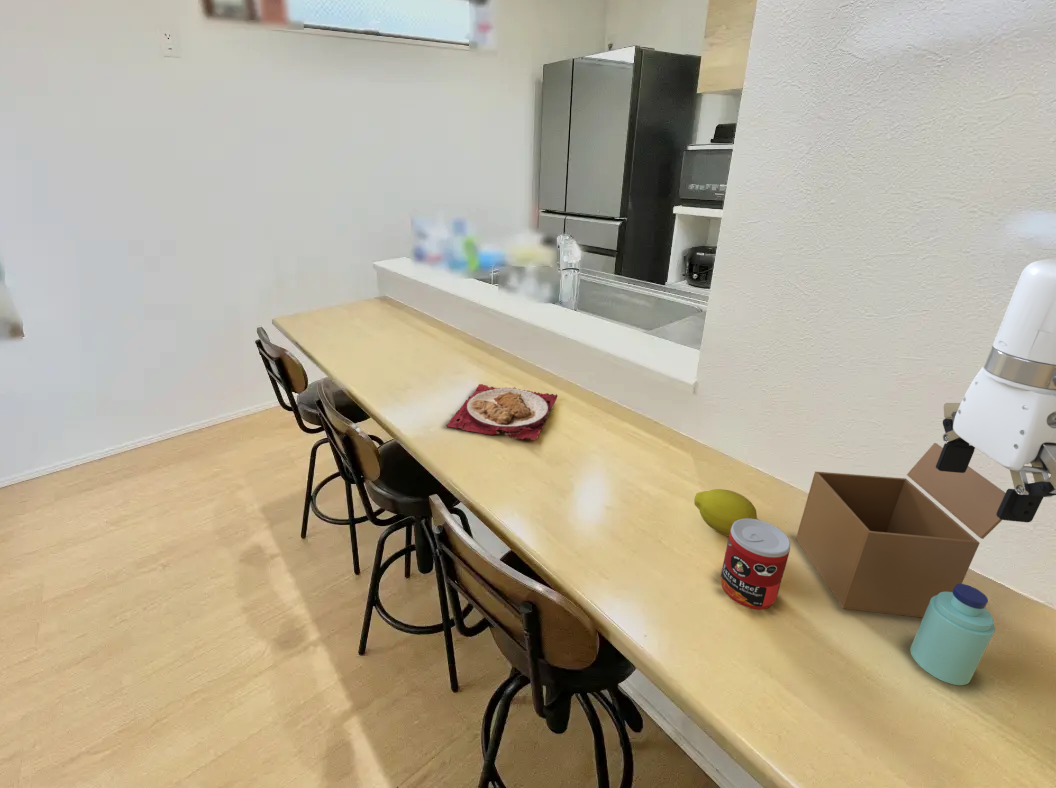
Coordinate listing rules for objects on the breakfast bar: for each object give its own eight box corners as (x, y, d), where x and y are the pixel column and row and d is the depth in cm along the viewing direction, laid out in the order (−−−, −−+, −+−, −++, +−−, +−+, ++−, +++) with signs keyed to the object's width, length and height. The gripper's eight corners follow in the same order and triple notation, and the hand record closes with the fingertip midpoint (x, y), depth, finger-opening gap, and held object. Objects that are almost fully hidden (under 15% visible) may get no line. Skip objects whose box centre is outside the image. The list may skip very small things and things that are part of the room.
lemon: (762, 535, 90) (771, 498, 87) (746, 556, 85) (755, 519, 82) (702, 506, 97) (709, 471, 95) (684, 524, 92) (690, 488, 90)
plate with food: (557, 400, 141) (558, 389, 140) (536, 444, 118) (536, 431, 117) (479, 388, 149) (479, 378, 148) (445, 426, 127) (445, 414, 126)
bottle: (947, 646, 69) (978, 577, 65) (983, 688, 63) (1020, 616, 59) (899, 640, 70) (927, 572, 66) (930, 682, 64) (963, 610, 60)
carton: (881, 547, 87) (905, 478, 82) (945, 620, 73) (980, 542, 68) (795, 538, 89) (814, 471, 84) (842, 608, 75) (868, 532, 70)
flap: (906, 474, 81) (908, 475, 81) (980, 538, 68) (983, 539, 68) (934, 442, 79) (936, 443, 79) (1017, 501, 65) (1020, 502, 65)
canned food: (708, 583, 80) (720, 528, 76) (739, 564, 83) (752, 511, 79) (754, 619, 73) (770, 561, 70) (786, 598, 77) (802, 541, 73)
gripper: (1159, 407, 48) (1083, 547, 54) (1005, 345, 64) (959, 457, 70) (1068, 401, 49) (1003, 538, 55) (939, 341, 65) (900, 452, 71)
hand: (979, 493), depth 62 cm, fingers open, 9 cm apart
